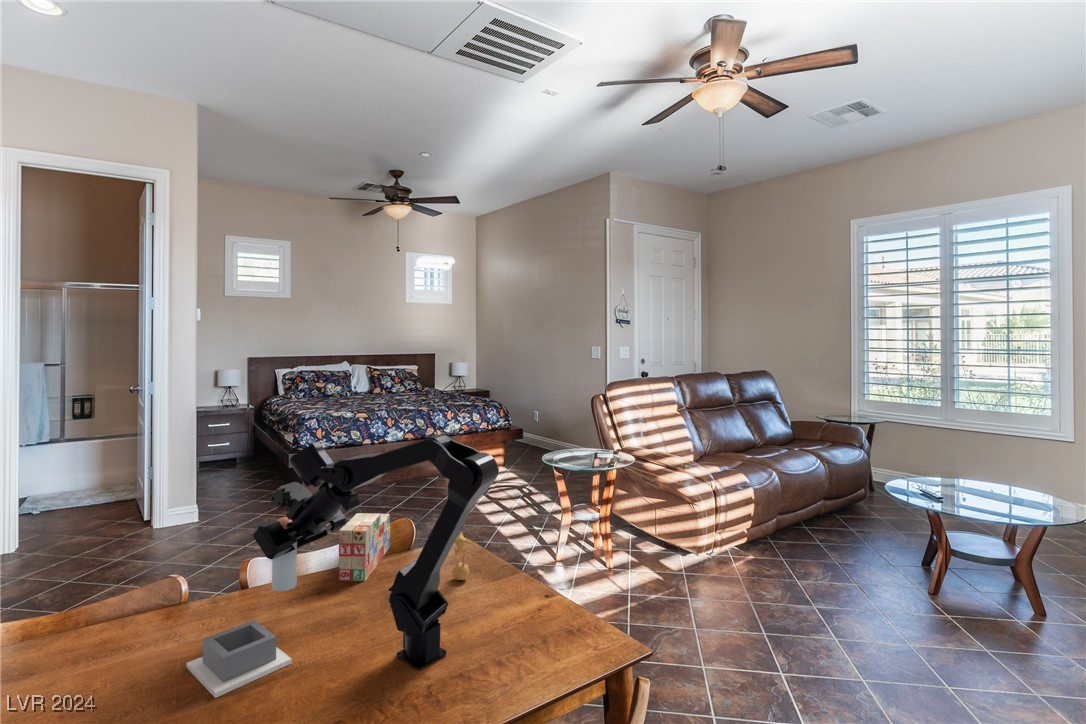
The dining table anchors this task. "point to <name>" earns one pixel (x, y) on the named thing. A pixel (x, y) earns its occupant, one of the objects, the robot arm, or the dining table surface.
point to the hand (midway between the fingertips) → (279, 552)
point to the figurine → (461, 569)
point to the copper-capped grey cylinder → (285, 567)
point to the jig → (237, 658)
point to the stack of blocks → (362, 545)
